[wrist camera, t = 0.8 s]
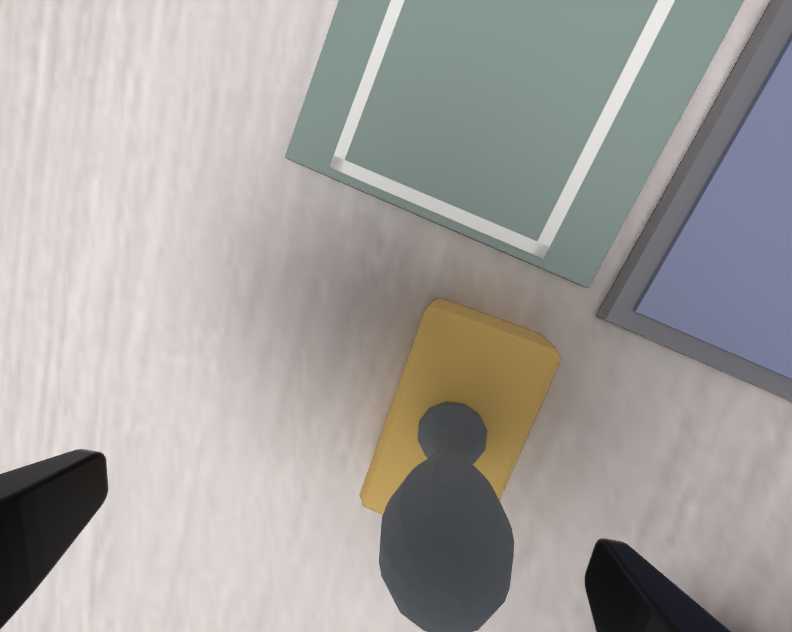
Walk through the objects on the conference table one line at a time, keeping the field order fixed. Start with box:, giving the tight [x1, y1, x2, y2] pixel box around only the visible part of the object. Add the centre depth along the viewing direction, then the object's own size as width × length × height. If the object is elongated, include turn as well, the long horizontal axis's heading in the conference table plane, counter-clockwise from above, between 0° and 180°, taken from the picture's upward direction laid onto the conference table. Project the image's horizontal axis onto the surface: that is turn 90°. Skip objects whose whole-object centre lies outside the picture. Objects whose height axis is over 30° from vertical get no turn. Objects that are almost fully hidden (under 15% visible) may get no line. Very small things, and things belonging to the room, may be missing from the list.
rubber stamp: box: [360, 298, 561, 632], centre depth 14 cm, size 10×6×12 cm, turn 162°
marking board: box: [285, 0, 744, 288], centre depth 17 cm, size 16×16×1 cm
